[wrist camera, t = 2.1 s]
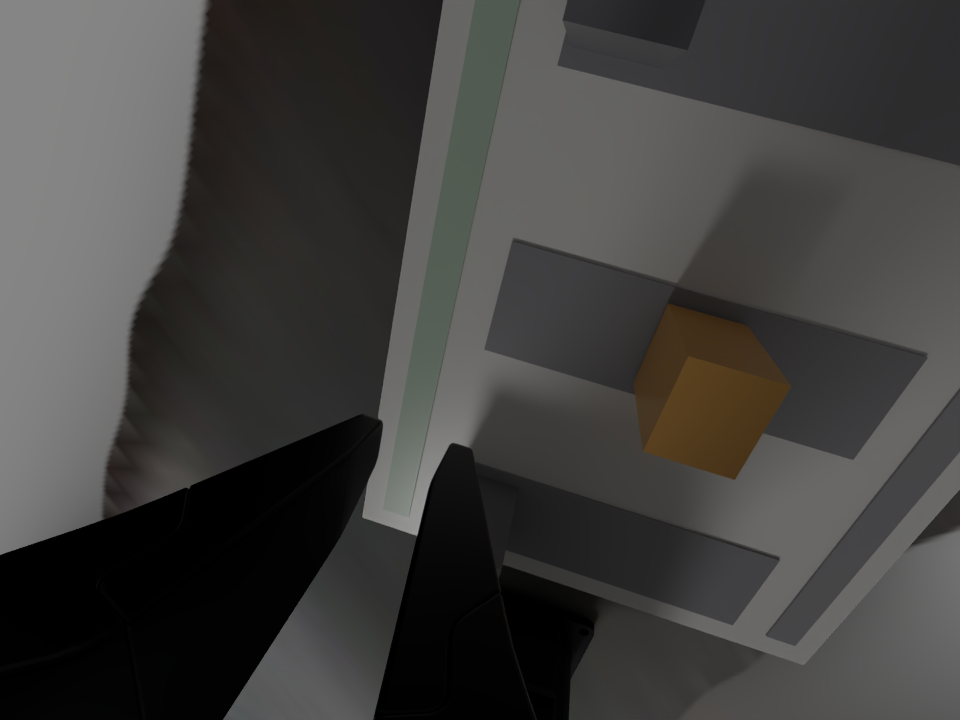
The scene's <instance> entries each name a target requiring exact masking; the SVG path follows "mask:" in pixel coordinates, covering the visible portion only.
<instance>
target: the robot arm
mask: <svg viewBox="0 0 960 720" xmlns="http://www.w3.org/2000/svg"><path fill="white" fill-rule="evenodd" d="M382 431H383V422H382V420H380V419H378V418H374V417H371V416H368V415H365V414H361V415H358V416H356V417H353V418H351V419H348V420H346V421H344V422H341V423H339V424H336V425H334V426H332V427H329V428H327V429H325V430H322V431H320V432H317V433H315V434H313V435H310V436H308V437H305V438H303V439H301V440H298V441H296V442H294V443H291V444H289V445H286V446H284V447H282V448H279V449H277V450H274V451H272V452H270V453H267V454H265V455H263V456H260V457H258V458H255V459H253V460H251V461H248V462H246V463H243V464H241V465H239V466H236V467H234V468H232V469H229V470H227V471H224V472H222V473H220V474H217V475H215V476H212V477H210V478H208V479H205V480H203V481H201V482H198V483H196V484H193V485H191V486H190V489H188V488H183V489H181V490H179V491H176V492H174V493H172V494H169V495H167V496H164V497H162V498H159V499H157V500H154V501H152V502H149V503H147V504H144V505H142V506H139V507H137V508H134V509H132V510H129V511H127V512H124V513H121V514H118V515H116V516H113V517H110V518H107V519H104V520H101V521H99V522H96V523H93V524H90V525H87V526H85V527H82V528H79V529H76V530H73V531H70V532H67V533H64V534H61V535H58V536H55V537H52V538H49V539H46V540H43V541H40V542H37V543H34V544H31V545H28V546H25V547H22V548H19V549H16V550H13V551H11V552H7V553H5V554H2V555H0V720H223V719H224V717H225V716H226V714H227V713H228V711H229V709H230V708H231V706H232V705H233V703H234V702H235V700H236V699H237V697H238V696H239V694H240V692H241V691H242V689H243V688H244V686H245V685H246V683H247V682H248V680H249V678H250V677H251V675H252V674H253V672H254V671H255V669H256V668H257V666H258V665H259V663H260V661H261V660H262V658H263V657H264V655H265V654H266V652H267V651H268V649H269V647H270V646H271V644H272V643H273V641H274V640H275V638H276V637H277V635H278V633H279V632H280V630H281V629H282V627H283V626H284V624H285V623H286V621H287V620H288V618H289V616H290V615H291V613H292V612H293V610H294V609H295V607H296V606H297V604H298V602H299V601H300V599H301V598H302V596H303V595H304V593H305V592H306V590H307V589H308V587H309V585H310V584H311V582H312V581H313V579H314V578H315V576H316V575H317V573H318V571H319V570H320V568H321V567H322V565H323V564H324V562H325V561H326V559H327V558H328V556H329V554H330V553H331V551H332V550H333V548H334V547H335V545H336V543H337V542H338V540H339V538H340V537H341V535H342V533H343V531H344V529H345V527H346V525H347V523H348V521H349V519H350V517H351V515H352V513H353V511H354V509H355V507H356V505H357V502H358V500H359V498H360V496H361V494H362V492H363V490H364V488H365V486H366V484H367V482H368V480H369V478H370V476H371V474H372V472H373V470H374V468H375V465H376V463H377V460H378V456H379V450H380V444H381V438H382ZM593 636H594V624H593V623H592V622H591V621H590V620H588V619H585V618H583V617H580V616H577V615H574V614H571V613H568V612H565V611H562V610H559V609H556V608H553V607H550V606H547V605H544V604H541V603H538V602H535V601H532V600H529V599H527V598H524V597H521V596H518V595H515V594H512V593H509V592H506V591H503V590H501V589H500V584H499V579H498V574H497V569H496V564H495V559H494V554H493V549H492V544H491V539H490V534H489V529H488V524H487V519H486V514H485V509H484V504H483V499H482V494H481V489H480V484H479V479H478V474H477V470H476V465H475V460H474V455H473V451H472V449H471V448H469V447H466V446H463V445H460V444H457V443H451V444H450V445H449V447H448V448H447V450H446V452H445V454H444V456H443V458H442V460H441V462H440V464H439V466H438V468H437V470H436V472H435V474H434V476H433V478H432V480H431V482H430V485H429V489H428V492H427V497H426V501H425V505H424V509H423V513H422V518H421V522H420V526H419V530H418V534H417V538H416V543H415V547H414V551H413V555H412V559H411V564H410V568H409V572H408V576H407V580H406V585H405V589H404V593H403V597H402V601H401V605H400V610H399V614H398V618H397V622H396V626H395V631H394V635H393V639H392V643H391V647H390V652H389V656H388V660H387V664H386V668H385V673H384V677H383V681H382V685H381V689H380V693H379V698H378V702H377V706H376V710H375V714H374V719H373V720H569V701H570V679H571V677H572V675H573V673H574V672H575V670H576V668H577V666H578V664H579V662H580V660H581V658H582V657H583V655H584V653H585V651H586V649H587V647H588V645H589V643H590V641H591V640H592V638H593Z"/></svg>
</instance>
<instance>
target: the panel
mask: <svg viewBox="0 0 960 720" xmlns="http://www.w3.org/2000/svg"><path fill="white" fill-rule="evenodd" d="M668 303H669V304H673V305H676V306H680V307H683V308H687V309H690V310H694V311H698V312H701V313H705V314H708V315H712V316H715V317H719V318H722V319H726V320H729V321H733V322H736V323H740V324H743V325H747V326H748V327H749V329H750V330H751V331H752V333H753V334H754V335H755V337H756V338H757V339H758V341H759V342H760V344H761V345H762V346H763V348H764V349H765V350H766V352H767V353H768V355H769V356H770V357H771V359H772V360H773V361H774V363H775V364H776V366H777V367H778V368H779V370H780V371H781V372H782V374H783V375H784V376H785V378H786V379H787V381H788V382H789V383H790V385H791V388H790V389H789V391H788V393H787V394H786V396H785V398H784V399H783V401H782V403H781V404H780V406H779V408H778V409H777V411H776V413H775V414H774V416H773V418H772V419H771V421H770V423H769V424H768V426H767V428H766V429H765V431H764V432H763V434H762V436H761V437H760V439H759V441H758V442H757V444H756V446H755V447H754V449H753V451H752V452H751V454H750V456H749V457H748V459H747V461H746V462H745V464H744V466H743V467H742V469H741V471H740V472H739V474H738V476H737V477H736V479H735V480H733V479H730V478H727V477H724V476H720V475H717V474H714V473H711V472H707V471H704V470H701V469H698V468H694V467H691V466H688V465H685V464H681V463H678V462H675V461H672V460H668V459H665V458H662V457H659V456H655V455H652V454H649V453H646V452H643V448H642V441H641V434H640V427H639V420H638V412H637V405H636V398H635V391H634V384H633V383H634V381H635V378H636V376H637V374H638V371H639V369H640V367H641V364H642V362H643V360H644V357H645V355H646V353H647V350H648V348H649V346H650V343H651V341H652V339H653V336H654V334H655V332H656V330H657V327H658V325H659V323H660V320H661V318H662V316H663V313H664V311H665V309H666V306H667V304H668ZM378 419H380V420H382V422H383V431H382V438H381V444H380V450H379V456H378V460H377V463H376V465H375V468H374V470H373V472H372V474H371V476H370V478H369V480H368V484H367V491H366V497H365V504H364V510H363V516H362V517H363V518H366V519H369V520H372V521H375V522H378V523H380V524H383V525H386V526H389V527H392V528H395V529H398V530H401V531H404V532H407V533H410V534H413V535H416V536H417V534H418V530H419V526H420V522H421V518H422V513H423V509H424V505H425V501H426V497H427V492H428V489H429V485H430V482H431V480H432V478H433V476H434V474H435V472H436V470H437V468H438V466H439V464H440V462H441V460H442V458H443V456H444V454H445V452H446V450H447V448H448V447H449V445H450V444H451V443H457V444H460V445H463V446H466V447H469V448H471V449H472V451H473V455H474V460H475V465H476V470H477V474H478V479H479V484H480V489H481V494H482V499H483V504H484V509H485V514H486V519H487V524H488V529H489V534H490V539H491V544H492V549H493V554H494V559H495V564H496V569H497V574H498V579H499V576H500V573H501V570H502V566H503V565H506V566H509V567H512V568H515V569H518V570H521V571H524V572H527V573H530V574H533V575H536V576H539V577H542V578H545V579H548V580H551V581H554V582H557V583H560V584H563V585H566V586H569V587H572V588H575V589H578V590H581V591H584V592H587V593H590V594H593V595H596V596H598V597H601V598H604V599H607V600H610V601H613V602H616V603H619V604H622V605H625V606H628V607H631V608H634V609H637V610H640V611H643V612H646V613H649V614H652V615H655V616H658V617H661V618H664V619H667V620H670V621H673V622H676V623H679V624H682V625H685V626H688V627H691V628H694V629H697V630H700V631H703V632H706V633H709V634H712V635H715V636H718V637H721V638H724V639H727V640H730V641H733V642H736V643H739V644H742V645H745V646H748V647H751V648H754V649H757V650H760V651H763V652H766V653H769V654H772V655H775V656H778V657H781V658H784V659H787V660H790V661H793V662H796V663H799V664H802V665H804V664H805V663H806V662H807V661H808V660H809V659H810V658H811V657H812V655H813V654H814V653H815V652H816V651H817V650H818V649H819V647H820V646H821V645H822V644H823V643H824V642H825V641H826V640H827V638H828V637H829V636H830V635H831V634H832V633H833V632H834V631H835V629H836V628H837V627H838V626H839V625H840V624H841V623H842V622H843V620H844V619H845V618H846V617H847V616H848V615H849V613H851V611H852V610H853V609H854V608H855V607H856V606H857V605H858V603H859V602H860V601H861V600H862V599H863V598H864V597H865V596H866V594H867V593H868V592H869V591H870V590H871V589H872V588H873V587H874V585H875V584H876V583H877V582H878V581H879V580H880V579H881V577H882V576H883V575H884V574H885V573H886V572H887V571H888V570H889V568H890V567H891V566H892V565H893V564H894V563H895V562H896V561H897V560H898V558H899V557H900V556H901V555H902V554H903V553H904V552H905V550H906V549H907V548H908V547H909V546H910V545H911V544H912V543H913V541H914V540H915V539H916V538H917V537H918V536H919V535H920V534H921V532H922V531H923V530H924V529H925V528H926V527H927V526H928V525H929V523H930V522H931V521H932V520H933V519H934V518H935V517H936V515H937V514H938V513H939V512H940V511H941V510H942V509H943V508H944V506H945V505H946V504H947V503H948V502H949V501H950V500H951V499H952V497H953V496H954V495H955V494H956V493H957V492H958V491H959V490H960V0H443V6H442V13H441V19H440V25H439V32H438V38H437V45H436V51H435V57H434V64H433V70H432V76H431V83H430V89H429V96H428V102H427V108H426V115H425V121H424V127H423V134H422V140H421V147H420V153H419V159H418V166H417V172H416V178H415V185H414V191H413V198H412V204H411V210H410V217H409V223H408V229H407V236H406V242H405V249H404V255H403V261H402V268H401V274H400V280H399V287H398V293H397V300H396V306H395V312H394V319H393V325H392V331H391V338H390V344H389V351H388V357H387V363H386V370H385V376H384V382H383V389H382V395H381V402H380V408H379V414H378Z"/></svg>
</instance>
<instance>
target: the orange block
mask: <svg viewBox="0 0 960 720" xmlns="http://www.w3.org/2000/svg"><path fill="white" fill-rule="evenodd" d="M633 384H634V391H635V398H636V405H637V412H638V420H639V427H640V434H641V441H642V448H643V452H646V453H649V454H652V455H655V456H659V457H662V458H665V459H668V460H672V461H675V462H678V463H681V464H685V465H688V466H691V467H694V468H698V469H701V470H704V471H707V472H711V473H714V474H717V475H720V476H724V477H727V478H730V479H733V480H735V479H736V477H737V476H738V474H739V472H740V471H741V469H742V467H743V466H744V464H745V462H746V461H747V459H748V457H749V456H750V454H751V452H752V451H753V449H754V447H755V446H756V444H757V442H758V441H759V439H760V437H761V436H762V434H763V432H764V431H765V429H766V428H767V426H768V424H769V423H770V421H771V419H772V418H773V416H774V414H775V413H776V411H777V409H778V408H779V406H780V404H781V403H782V401H783V399H784V398H785V396H786V394H787V393H788V391H789V389H790V388H791V385H790V383H789V382H788V381H787V379H786V378H785V376H784V375H783V374H782V372H781V371H780V370H779V368H778V367H777V366H776V364H775V363H774V361H773V360H772V359H771V357H770V356H769V355H768V353H767V352H766V350H765V349H764V348H763V346H762V345H761V344H760V342H759V341H758V339H757V338H756V337H755V335H754V334H753V333H752V331H751V330H750V329H749V327H748V326H747V325H743V324H740V323H736V322H733V321H729V320H726V319H722V318H719V317H715V316H712V315H708V314H705V313H701V312H698V311H694V310H690V309H687V308H683V307H680V306H676V305H673V304H669V303H668V304H667V306H666V309H665V311H664V313H663V316H662V318H661V320H660V323H659V325H658V327H657V330H656V332H655V334H654V336H653V339H652V341H651V343H650V346H649V348H648V350H647V353H646V355H645V357H644V360H643V362H642V364H641V367H640V369H639V371H638V374H637V376H636V378H635V381H634V383H633Z"/></svg>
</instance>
